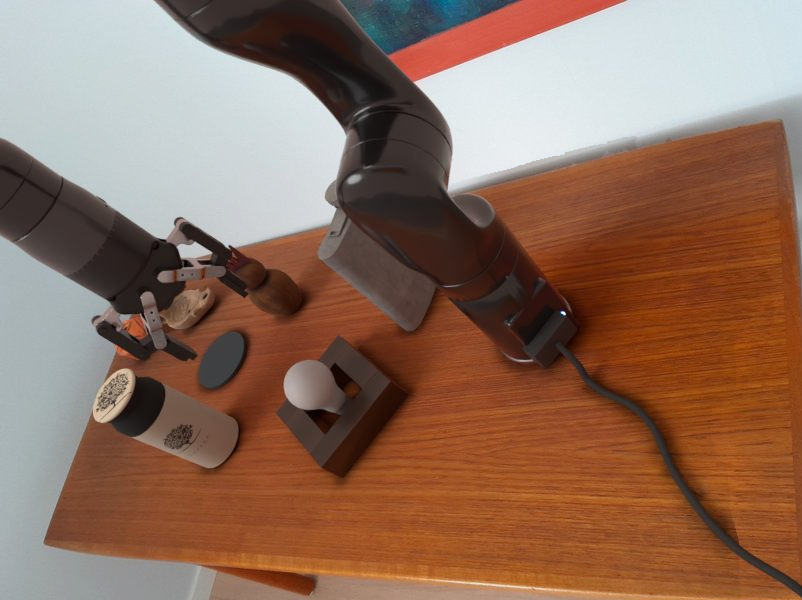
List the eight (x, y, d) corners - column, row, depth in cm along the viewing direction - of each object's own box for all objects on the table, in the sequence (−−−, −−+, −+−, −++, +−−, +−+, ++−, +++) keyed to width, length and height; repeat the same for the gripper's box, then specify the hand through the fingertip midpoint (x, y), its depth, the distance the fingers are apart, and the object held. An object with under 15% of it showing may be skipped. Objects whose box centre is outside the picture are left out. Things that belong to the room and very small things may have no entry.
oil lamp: (225, 287, 117) (202, 272, 113) (217, 322, 113) (194, 307, 109) (174, 310, 123) (151, 296, 119) (165, 344, 118) (141, 331, 115)
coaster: (255, 349, 104) (252, 348, 103) (214, 400, 103) (211, 398, 103) (232, 323, 110) (229, 322, 110) (193, 370, 110) (190, 369, 109)
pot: (125, 353, 124) (99, 330, 119) (161, 327, 125) (136, 303, 121) (134, 374, 118) (107, 350, 113) (171, 346, 119) (146, 322, 115)
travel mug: (198, 436, 101) (91, 389, 88) (236, 407, 99) (133, 354, 86) (203, 479, 96) (90, 435, 82) (243, 449, 94) (134, 399, 81)
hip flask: (430, 233, 95) (343, 138, 80) (454, 230, 92) (368, 131, 78) (400, 331, 89) (298, 248, 74) (424, 330, 86) (325, 244, 72)
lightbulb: (374, 389, 86) (319, 352, 78) (359, 434, 84) (300, 400, 76) (341, 386, 90) (284, 350, 82) (325, 429, 87) (265, 395, 79)
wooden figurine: (311, 285, 104) (241, 229, 93) (304, 316, 101) (230, 263, 90) (280, 294, 107) (208, 242, 96) (272, 325, 104) (197, 274, 93)
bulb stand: (409, 394, 83) (390, 381, 80) (342, 478, 82) (320, 468, 79) (356, 348, 92) (338, 334, 89) (295, 423, 91) (275, 412, 88)
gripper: (38, 315, 57) (188, 391, 69) (146, 188, 58) (275, 284, 70) (24, 284, 62) (166, 360, 74) (123, 168, 63) (247, 261, 75)
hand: (219, 323), depth 72 cm, fingers open, 8 cm apart
